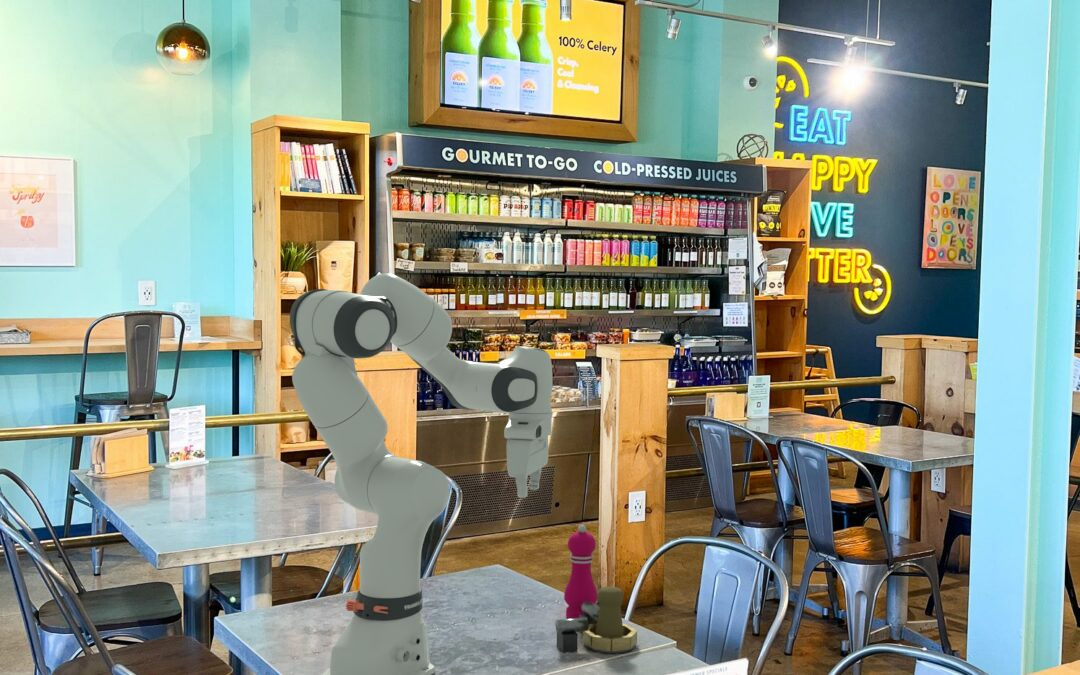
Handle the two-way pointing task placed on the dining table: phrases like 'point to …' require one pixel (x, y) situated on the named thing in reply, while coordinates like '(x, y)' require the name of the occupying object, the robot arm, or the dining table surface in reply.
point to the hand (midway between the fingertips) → (528, 493)
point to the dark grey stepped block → (570, 633)
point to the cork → (609, 612)
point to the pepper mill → (580, 573)
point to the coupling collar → (610, 641)
